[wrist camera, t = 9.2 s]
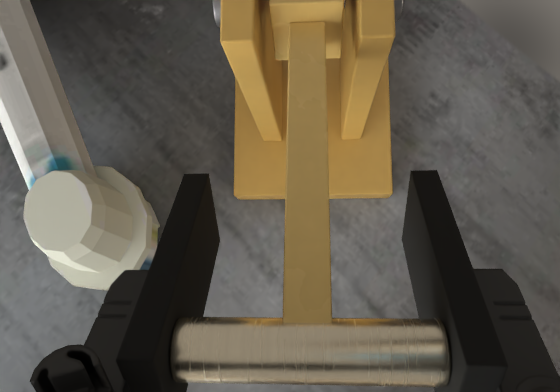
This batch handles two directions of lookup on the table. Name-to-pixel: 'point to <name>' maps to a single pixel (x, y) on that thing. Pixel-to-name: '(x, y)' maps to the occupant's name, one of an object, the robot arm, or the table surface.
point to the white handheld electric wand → (65, 168)
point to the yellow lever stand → (340, 100)
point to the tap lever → (309, 259)
